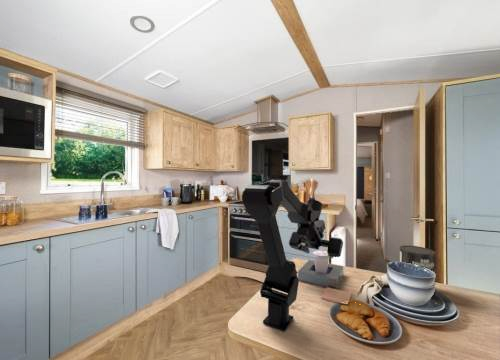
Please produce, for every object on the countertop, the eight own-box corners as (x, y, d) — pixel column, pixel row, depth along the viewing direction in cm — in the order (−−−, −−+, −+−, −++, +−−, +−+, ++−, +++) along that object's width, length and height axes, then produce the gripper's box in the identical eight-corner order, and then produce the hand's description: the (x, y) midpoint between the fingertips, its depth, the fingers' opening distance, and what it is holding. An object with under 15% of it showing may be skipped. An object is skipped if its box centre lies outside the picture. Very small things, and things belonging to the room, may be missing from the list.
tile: (347, 305, 70) (347, 304, 70) (321, 298, 74) (321, 297, 74) (351, 294, 77) (351, 293, 77) (327, 288, 81) (327, 287, 81)
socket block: (336, 289, 81) (336, 279, 80) (298, 280, 88) (298, 271, 88) (343, 275, 93) (343, 266, 92) (308, 268, 100) (309, 259, 100)
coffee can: (442, 298, 75) (443, 255, 75) (407, 295, 77) (408, 253, 77) (424, 284, 85) (425, 246, 85) (394, 281, 87) (394, 244, 87)
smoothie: (332, 281, 87) (332, 244, 87) (315, 281, 87) (315, 244, 87) (326, 274, 93) (327, 239, 93) (311, 274, 93) (311, 239, 93)
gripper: (341, 216, 79) (349, 240, 88) (292, 211, 90) (303, 233, 99) (335, 244, 73) (344, 267, 82) (282, 235, 84) (295, 257, 93)
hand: (320, 254), depth 89 cm, fingers open, 9 cm apart
